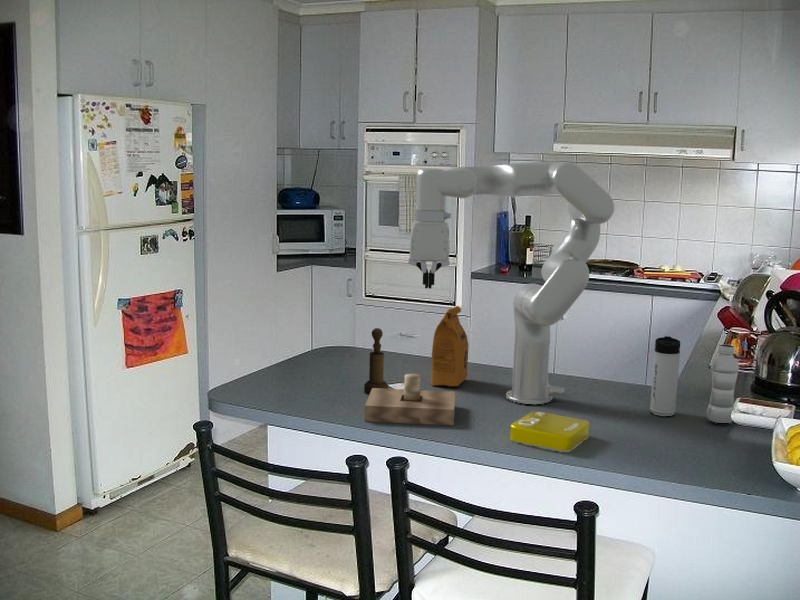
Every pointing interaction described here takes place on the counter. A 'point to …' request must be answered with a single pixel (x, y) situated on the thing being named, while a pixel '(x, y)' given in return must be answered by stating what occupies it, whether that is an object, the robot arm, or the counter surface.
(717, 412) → the plastic bottle
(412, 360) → the counter surface
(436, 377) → the coffee package
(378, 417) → the board
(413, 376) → the peg
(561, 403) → the counter surface
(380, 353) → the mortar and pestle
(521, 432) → the element tile
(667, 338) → the travel mug
